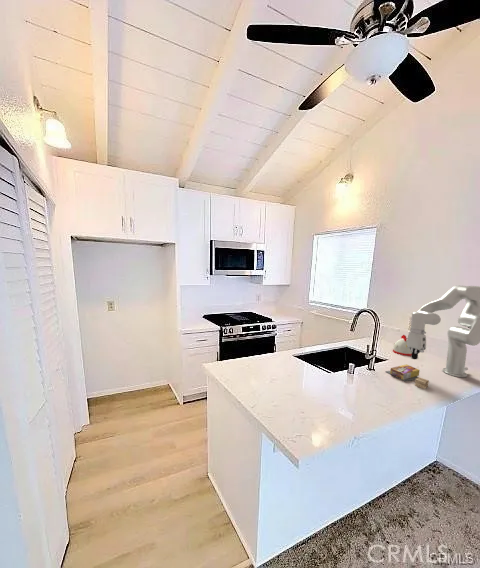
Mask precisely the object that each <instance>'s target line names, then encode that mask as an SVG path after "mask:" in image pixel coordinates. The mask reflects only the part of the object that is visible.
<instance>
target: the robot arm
mask: <svg viewBox="0 0 480 568" xmlns="http://www.w3.org/2000/svg"><path fill="white" fill-rule="evenodd" d="M462 300H465V305H464V306H463V308H462V309H463V310H462V311H461V312H460V314H459V316H458V318H457V323H458V326H456V325H454V326H451V327H449V328H448V329H447V341H448V344H447V353H446V363H445V368H442V372H443V373H445V374H447V375H449V376H452V377H458V378H467V377H468V374H467V373H466V372H465V371H468V370H469V368H468V367H466V361H467V360H466V359H467V351H468V350H467V349H468V348H467V345H468V346H473V347H474V346H478V345H479V344H480V286H479V285H478V286H477V285H453V286H452V287H451V288H450V289H449V290H448V291H447V292H446V293H444V294H443V295H442V296H441V297H440V298H439V299H436V300H434V301H433V300H432V301H431V302H428V303H426V304H424V305H423V306H422V307H421V308H420V309H418V310H417V311H412V313H411V321H410V331H408V335H407V337H406V338H407V347H408V348H409V349H410V350H411V352H412V356H411V359H412V360H418V357H419V354H420V353H422V354H423V353H425V350H426V349H427V336H426V334H427V332H426V331H425V330H426V329H425V328H426V325H430V326H435V325H436V326H437V325H439V323H441V317H440V315H439V314H437V313H435V312H438V311H445V310H451V309H454V307H455V306H456V305H458V303H459V302H460V301H462ZM459 325H460V326H459ZM462 326H463V327H462ZM468 328H469V329H468Z"/></svg>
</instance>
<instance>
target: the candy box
mask: <svg viewBox="0 0 480 568" xmlns="http://www.w3.org/2000/svg"><path fill="white" fill-rule="evenodd" d="M389 371H390V374H389V375H391V374H392V375H391V376H393V375H394V376H393V377H395V376H396V377H395V378H397V377H398V378H397V379H399V378H400V379H399V380H401V379H403V380H404V379H408V378H412V377H416V376H417V377H420V372H421V371H420V369H419V368H417V367H413V366H412V365H409V364H403V365H402V364H401V365H398V366H394V367H390V370H389ZM403 380H402V381H403Z"/></svg>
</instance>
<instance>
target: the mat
mask: <svg viewBox="0 0 480 568" xmlns="http://www.w3.org/2000/svg"><path fill="white" fill-rule="evenodd" d="M385 373H387V374H389V375H390V376H392V377H395V378H397V379H398V380H401V381H403V382H410V381H415V379H417V378H418V377H419V376H416V377H412V378H408V379H404V380H403V379H400V378H398V377H396V376H394V375H392V374H390V370H386V371H385Z"/></svg>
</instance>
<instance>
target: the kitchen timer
mask: <svg viewBox="0 0 480 568" xmlns="http://www.w3.org/2000/svg"><path fill="white" fill-rule="evenodd" d="M407 338H408V337H407V336H406V335H405V334H402V335H401V336H400V339H398V340H397V341H396V342H395V343H393V348H392V352H393V353H394V354H396V353H397V355H399V354H400V356H406V357H412V352H411V350H410V349H409V348H408V347H407Z"/></svg>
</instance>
